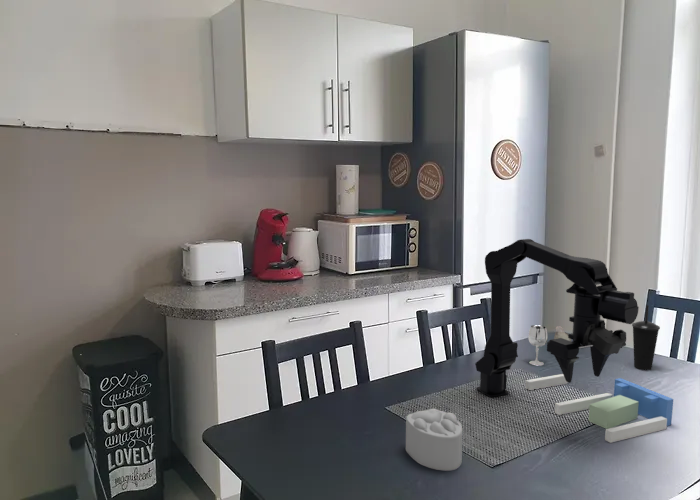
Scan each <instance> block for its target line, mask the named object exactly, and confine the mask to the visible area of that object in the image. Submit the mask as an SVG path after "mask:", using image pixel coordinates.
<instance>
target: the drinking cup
mask: <svg viewBox="0 0 700 500" xmlns="http://www.w3.org/2000/svg"><path fill="white" fill-rule="evenodd" d="M648 318H649V305H647V304H646V305H645V318H644V320H640V321H636V322H633V323H632V324H631V327H632V334H633V335H632V336H633V337H632V339H633V340H632V341H633V367H634V368H635V369H637V370H640V371H651V370H652V368H653V363H654V358H655V353H656V347H657V342H658V341H657V340H658V335H659V331H660V328H661V327H660V325H657V324H656V323H653V322H652V321H649V319H648Z"/></svg>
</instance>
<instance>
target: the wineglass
mask: <svg viewBox="0 0 700 500" xmlns="http://www.w3.org/2000/svg"><path fill="white" fill-rule="evenodd" d="M527 338H528V341H529V343H530V344H531V346H534V347H535V353H536V354H535V356H536V357H535V359H534V360H531V361H529V364H530V365H533V366H539V367H541V366H544V365H545V363H544V362H543V361H539V359H538V357H539V352H540V351H539V350H540V349H539V347H541V348H542V347H543V346H545V345H547V342H548V330H547V326H544V325H540V324H539V325H538V324H532V325H530V328H529V330H528V337H527Z"/></svg>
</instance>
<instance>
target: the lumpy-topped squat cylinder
mask: <svg viewBox="0 0 700 500" xmlns="http://www.w3.org/2000/svg"><path fill="white" fill-rule="evenodd" d="M405 419H406V420H405V421H406V422H405V451H406V453H407V454H408V455H409V456H410V457H411V458H412V459H413V460H414V461H415V462H416V463H418V464H420V465H421V466H424V467H426V468H429V469H432V470H437V471H446V472H449V471H454V470H457V469H458V468H460V466H461V465H462V461H463V460H462V459H463V457H462V456H463V431H464V430H463V426H462V425H463V424H462V423H461V422H460V421H459V420H458V418H457V416H456V414H455V413H453V412H445V411H443V410H438V409H437V408H429V409H425V410H417V411H415V412H413V413H409V414H407V416H406V418H405Z"/></svg>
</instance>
